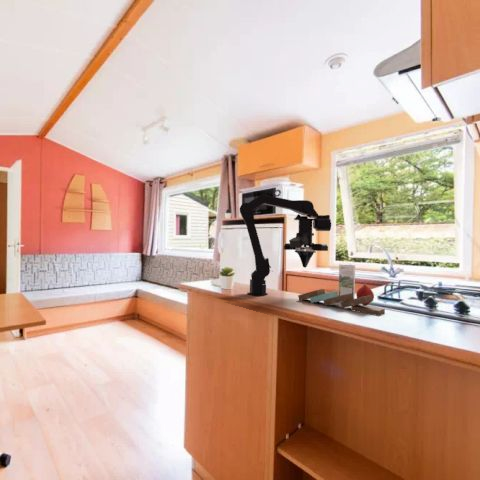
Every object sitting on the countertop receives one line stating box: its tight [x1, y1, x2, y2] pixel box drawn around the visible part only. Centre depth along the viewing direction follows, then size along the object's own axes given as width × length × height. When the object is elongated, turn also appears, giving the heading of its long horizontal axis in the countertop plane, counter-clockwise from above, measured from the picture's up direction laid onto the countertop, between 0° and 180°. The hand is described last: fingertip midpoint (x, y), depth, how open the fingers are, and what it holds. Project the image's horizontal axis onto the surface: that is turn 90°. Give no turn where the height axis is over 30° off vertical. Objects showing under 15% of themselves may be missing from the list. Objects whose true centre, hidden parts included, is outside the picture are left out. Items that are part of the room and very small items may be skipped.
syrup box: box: [338, 262, 356, 299], centre depth 120 cm, size 6×6×14 cm
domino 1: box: [297, 288, 326, 301], centre depth 114 cm, size 2×5×9 cm
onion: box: [356, 283, 375, 306], centre depth 108 cm, size 6×6×8 cm
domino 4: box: [340, 295, 374, 309], centre depth 100 cm, size 2×5×9 cm
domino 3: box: [323, 293, 354, 306], centre depth 105 cm, size 2×5×9 cm
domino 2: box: [309, 290, 339, 304], centre depth 110 cm, size 2×5×9 cm
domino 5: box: [350, 304, 386, 316], centre depth 98 cm, size 2×5×9 cm
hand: (304, 267), depth 127 cm, fingers closed
